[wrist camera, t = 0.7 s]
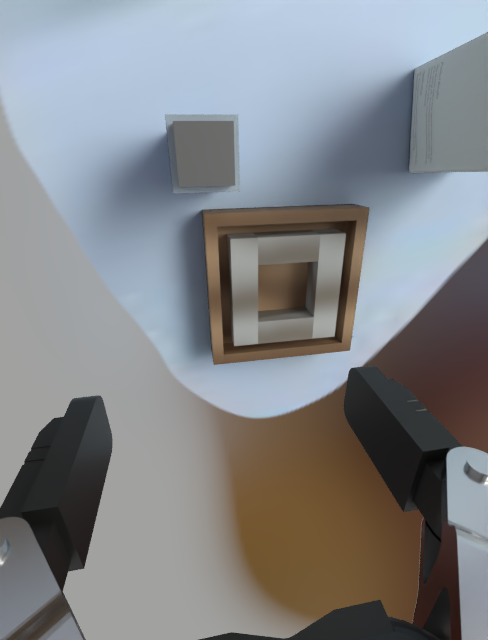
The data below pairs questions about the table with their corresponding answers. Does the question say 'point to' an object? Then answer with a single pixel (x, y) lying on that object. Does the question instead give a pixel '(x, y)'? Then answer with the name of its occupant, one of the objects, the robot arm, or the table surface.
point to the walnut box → (282, 279)
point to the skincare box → (451, 111)
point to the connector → (203, 153)
